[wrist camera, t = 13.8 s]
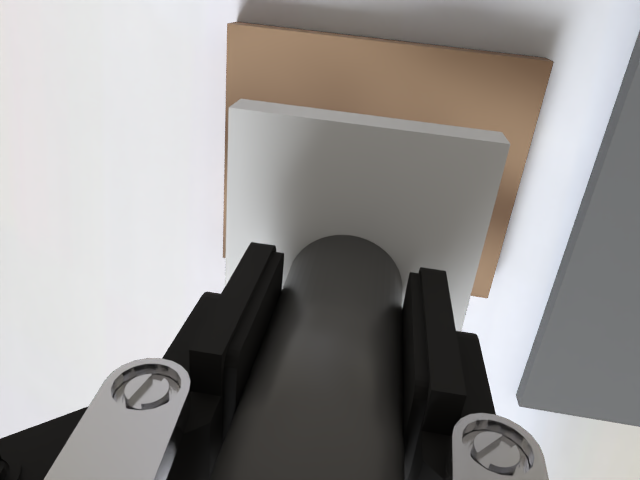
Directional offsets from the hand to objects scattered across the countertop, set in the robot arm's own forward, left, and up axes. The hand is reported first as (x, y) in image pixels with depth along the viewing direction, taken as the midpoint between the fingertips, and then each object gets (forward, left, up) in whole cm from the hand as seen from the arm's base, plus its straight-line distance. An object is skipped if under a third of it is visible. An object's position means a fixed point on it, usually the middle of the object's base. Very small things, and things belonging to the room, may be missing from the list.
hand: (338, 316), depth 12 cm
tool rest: (0, 0, -12) cm, 12 cm away
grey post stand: (0, 0, -2) cm, 2 cm away
